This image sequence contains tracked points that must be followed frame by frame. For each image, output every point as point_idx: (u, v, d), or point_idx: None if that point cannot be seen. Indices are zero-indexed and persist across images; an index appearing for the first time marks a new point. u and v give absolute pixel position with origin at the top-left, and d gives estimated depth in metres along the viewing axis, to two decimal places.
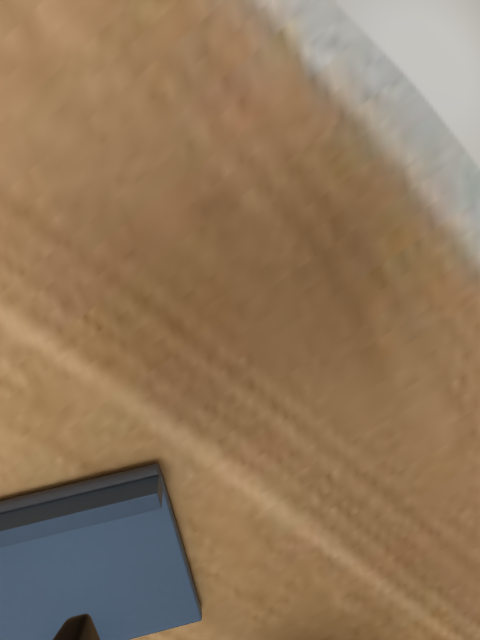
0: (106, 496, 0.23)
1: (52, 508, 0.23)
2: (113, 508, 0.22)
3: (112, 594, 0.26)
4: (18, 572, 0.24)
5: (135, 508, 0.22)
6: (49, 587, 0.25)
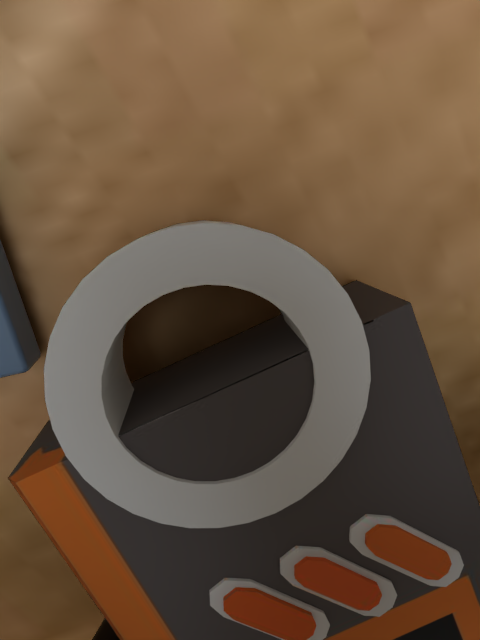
0: None
1: None
2: None
3: None
4: None
5: None
6: None
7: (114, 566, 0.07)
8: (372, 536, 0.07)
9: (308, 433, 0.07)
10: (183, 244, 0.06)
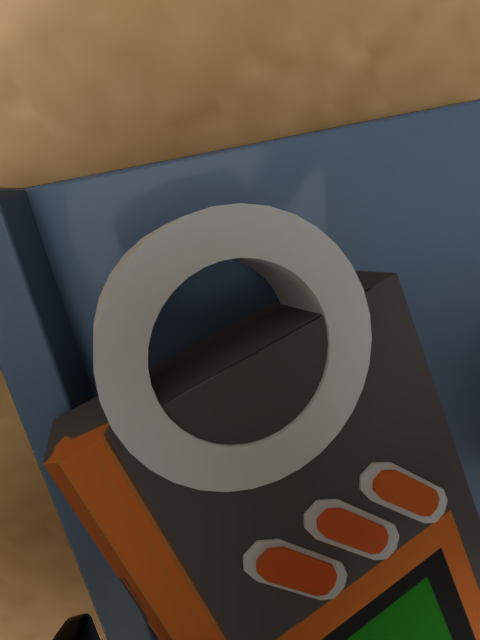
0: None
1: None
2: (0, 327, 0.08)
3: None
4: None
5: None
6: None
7: (154, 543, 0.07)
8: (378, 482, 0.08)
9: (325, 390, 0.07)
10: (222, 221, 0.06)
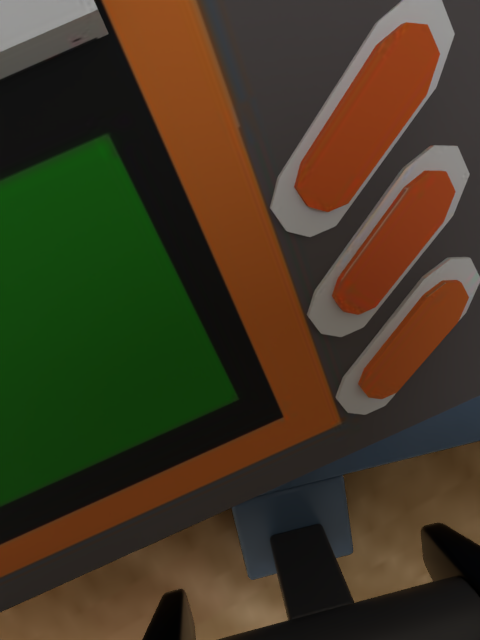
0: None
1: None
2: None
3: None
4: None
5: None
6: None
7: None
8: (447, 290, 0.05)
9: None
10: None
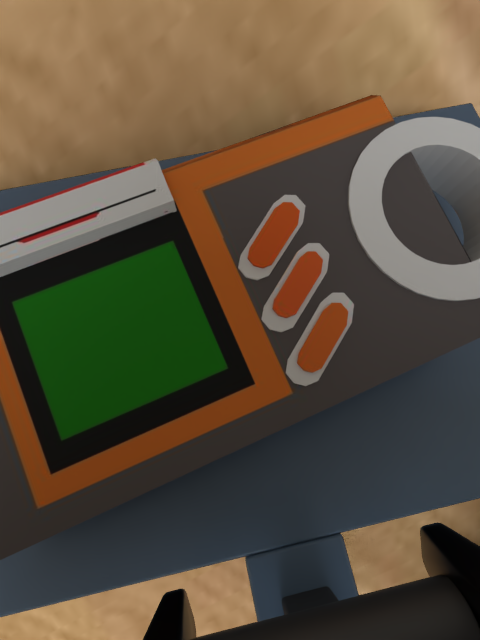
0: None
1: None
2: None
3: None
4: None
5: None
6: None
7: (318, 139, 0.10)
8: (336, 309, 0.10)
9: (417, 261, 0.10)
10: None
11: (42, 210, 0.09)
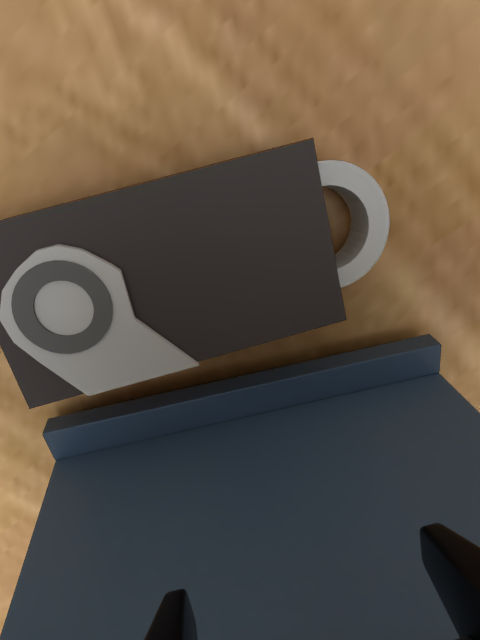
0: None
1: None
2: (382, 347, 0.19)
3: (412, 515, 0.13)
4: (253, 470, 0.16)
5: (408, 345, 0.19)
6: (298, 498, 0.14)
7: None
8: None
9: None
10: None
11: None
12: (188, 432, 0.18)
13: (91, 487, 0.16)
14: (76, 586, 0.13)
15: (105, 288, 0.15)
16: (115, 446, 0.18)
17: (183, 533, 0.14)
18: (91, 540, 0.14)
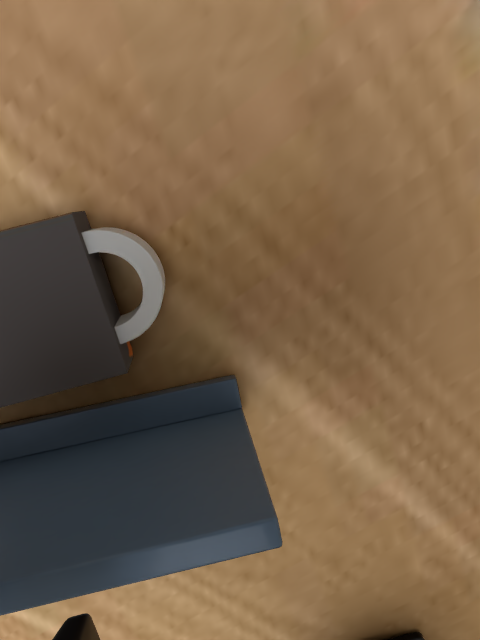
0: None
1: None
2: (188, 385, 0.21)
3: (119, 490, 0.14)
4: (23, 479, 0.17)
5: (208, 382, 0.21)
6: (39, 490, 0.15)
7: None
8: None
9: None
10: None
11: None
12: None
13: None
14: None
15: None
16: None
17: None
18: None
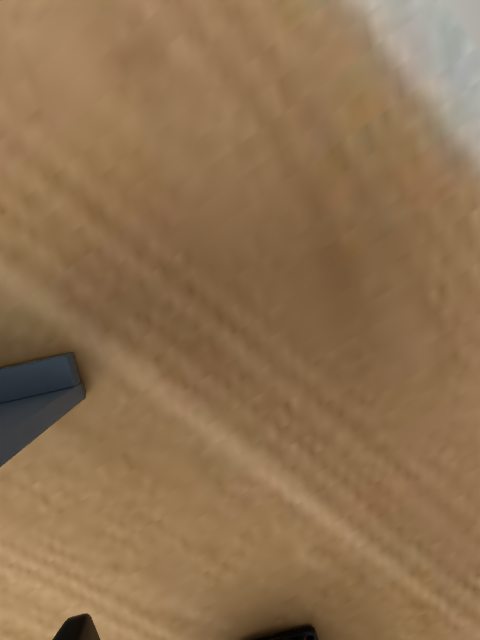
0: None
1: None
2: None
3: None
4: None
5: (40, 359, 0.20)
6: None
7: None
8: None
9: None
10: None
11: None
12: None
13: None
14: None
15: None
16: None
17: None
18: None
